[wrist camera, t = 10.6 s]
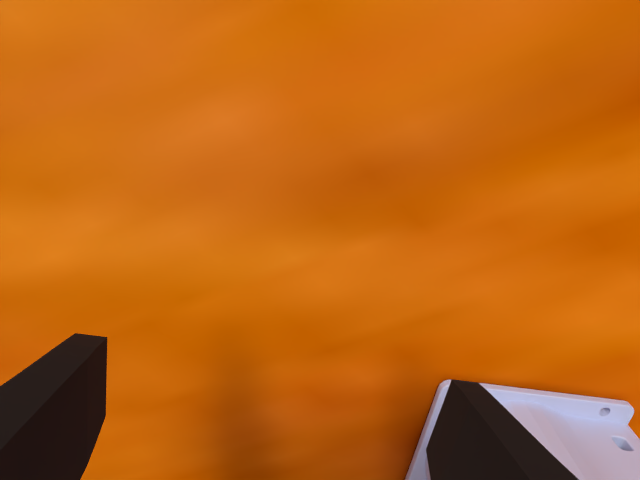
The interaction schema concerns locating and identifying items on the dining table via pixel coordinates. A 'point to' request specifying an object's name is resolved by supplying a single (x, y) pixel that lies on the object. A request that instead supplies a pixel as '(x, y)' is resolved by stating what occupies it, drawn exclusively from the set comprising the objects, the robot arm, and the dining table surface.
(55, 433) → the robot arm
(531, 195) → the dining table surface
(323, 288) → the dining table surface
